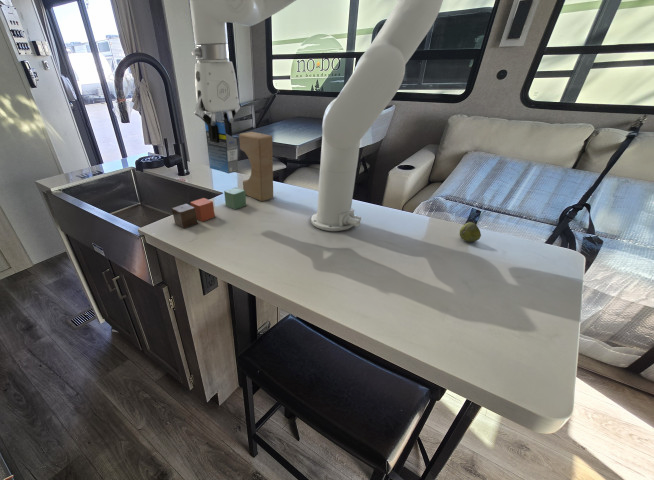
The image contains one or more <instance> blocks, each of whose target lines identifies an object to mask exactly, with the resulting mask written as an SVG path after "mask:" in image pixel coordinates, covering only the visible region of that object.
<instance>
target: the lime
mask: <svg viewBox="0 0 654 480" xmlns="http://www.w3.org/2000/svg"><path fill="white" fill-rule="evenodd" d="M459 237H460V239H461V240H463V241H466V242H468V243H475V242H477V241H479V240H480V239H481V237H482V233H481V230H480V228H479V227H478V225H477V223H475V222H472V221H469V222H466V223H465V224H463V225H462V227H460V229H459Z"/></svg>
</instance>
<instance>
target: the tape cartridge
mask: <svg viewBox="0 0 654 480" xmlns="http://www.w3.org/2000/svg"><path fill="white" fill-rule="evenodd" d="M222 122H223V121H222ZM222 122H221V121H215V125H216V126H217V127H218V135H219V142H218V143H215V142H211V141H210V138H209V131H208V125H206V123H205V122H204V128H205V135H206V136H205V137H206V146H207V155H208V163H209V165H208V166H209V169H212V170H215V171H218V172H223V173H226V174H233V173H236V172H237V173H238V171H239V162H238V161H239V160H238V142H237V141H238V140H237V137H234V136H233V135H232V136H230V135H228V134H226V132H225V124H224V123H222Z"/></svg>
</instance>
